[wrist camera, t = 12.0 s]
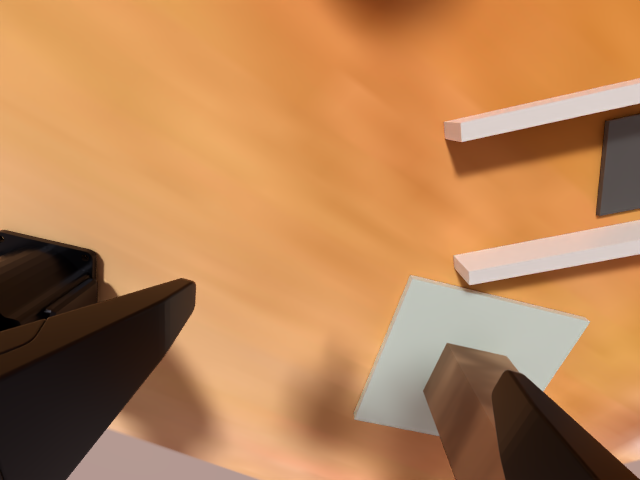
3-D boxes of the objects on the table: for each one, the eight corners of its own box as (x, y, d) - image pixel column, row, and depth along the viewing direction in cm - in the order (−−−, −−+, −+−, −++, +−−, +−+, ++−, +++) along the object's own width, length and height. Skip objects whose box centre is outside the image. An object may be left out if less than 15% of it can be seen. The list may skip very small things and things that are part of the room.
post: (422, 391, 26) (504, 610, 15) (446, 342, 25) (560, 548, 13) (479, 402, 27) (601, 624, 15) (506, 356, 25) (669, 566, 13)
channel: (454, 268, 23) (469, 285, 21) (443, 122, 19) (460, 122, 17) (694, 223, 22) (739, 235, 19) (729, 58, 18) (789, 49, 16)
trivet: (353, 413, 28) (354, 419, 27) (410, 274, 23) (412, 278, 23) (500, 442, 29) (504, 449, 29) (584, 316, 24) (590, 321, 24)
